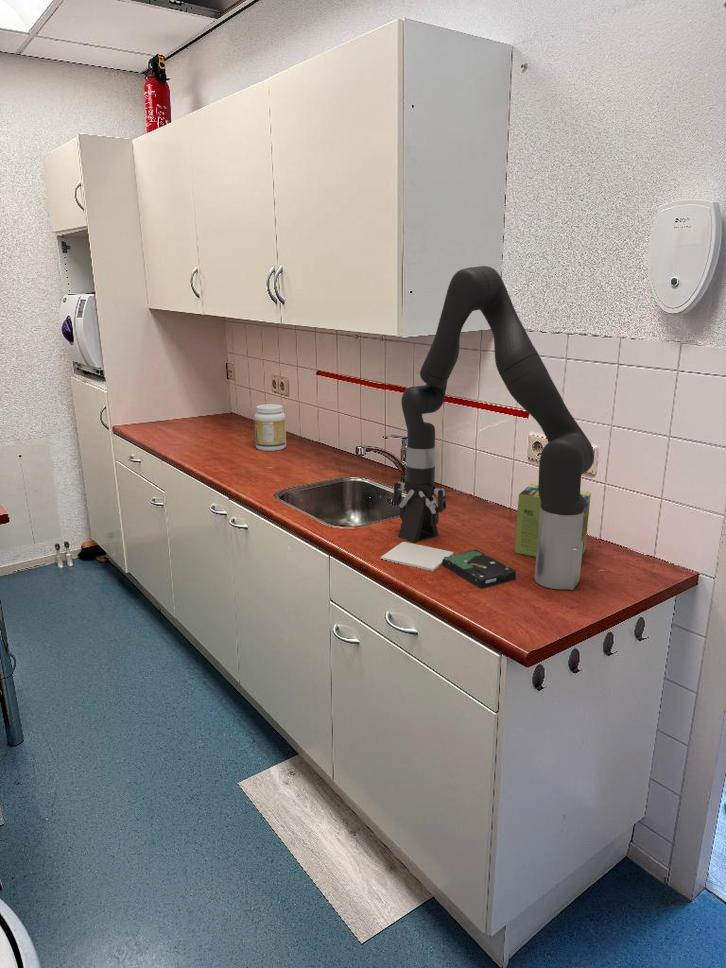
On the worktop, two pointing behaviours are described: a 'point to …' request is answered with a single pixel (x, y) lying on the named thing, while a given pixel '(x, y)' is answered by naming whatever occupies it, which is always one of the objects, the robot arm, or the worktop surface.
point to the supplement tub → (270, 427)
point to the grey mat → (417, 556)
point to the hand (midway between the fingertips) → (418, 523)
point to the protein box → (530, 520)
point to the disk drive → (479, 568)
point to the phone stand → (417, 521)
